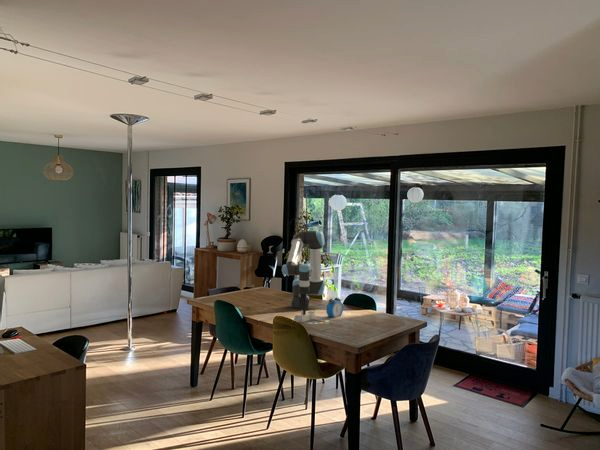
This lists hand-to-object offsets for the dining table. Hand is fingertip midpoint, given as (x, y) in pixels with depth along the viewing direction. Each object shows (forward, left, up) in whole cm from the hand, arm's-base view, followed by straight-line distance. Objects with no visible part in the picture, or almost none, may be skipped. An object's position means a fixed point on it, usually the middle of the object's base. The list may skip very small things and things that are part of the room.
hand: (303, 318), depth 330 cm
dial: (+1, +8, -2) cm, 8 cm away
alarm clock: (-19, +22, -3) cm, 29 cm away
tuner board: (-4, +6, -3) cm, 8 cm away
